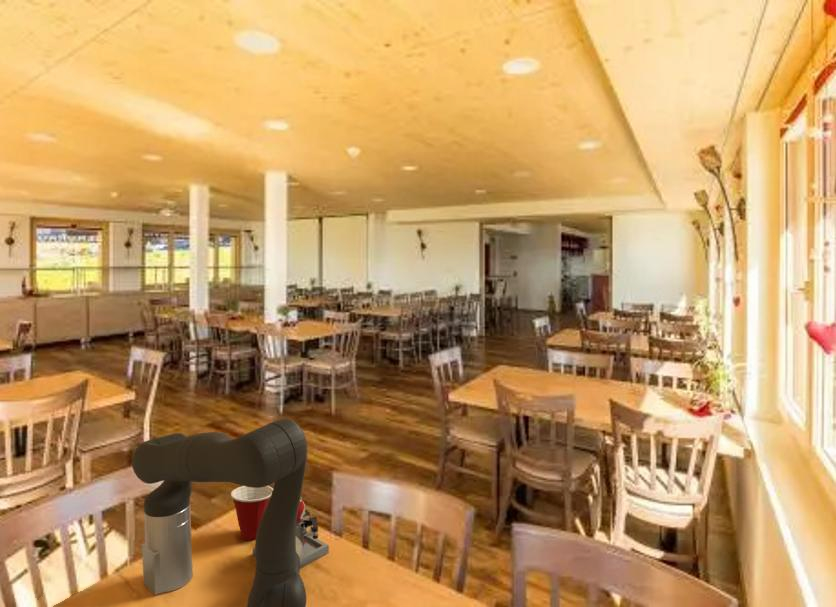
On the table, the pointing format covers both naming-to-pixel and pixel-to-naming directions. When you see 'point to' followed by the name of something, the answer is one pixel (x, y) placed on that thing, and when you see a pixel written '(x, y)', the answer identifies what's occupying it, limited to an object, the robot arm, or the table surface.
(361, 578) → the table surface
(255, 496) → the plastic cup
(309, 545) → the serving tray
